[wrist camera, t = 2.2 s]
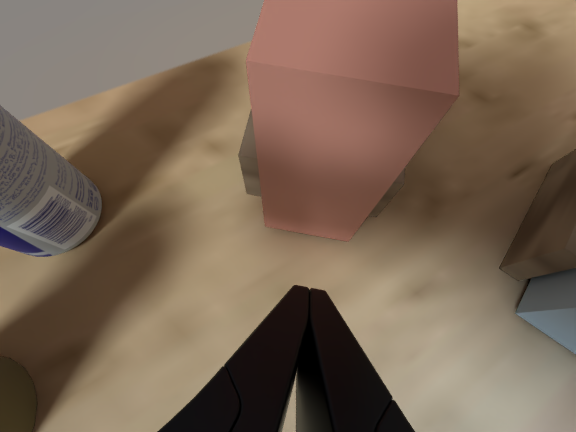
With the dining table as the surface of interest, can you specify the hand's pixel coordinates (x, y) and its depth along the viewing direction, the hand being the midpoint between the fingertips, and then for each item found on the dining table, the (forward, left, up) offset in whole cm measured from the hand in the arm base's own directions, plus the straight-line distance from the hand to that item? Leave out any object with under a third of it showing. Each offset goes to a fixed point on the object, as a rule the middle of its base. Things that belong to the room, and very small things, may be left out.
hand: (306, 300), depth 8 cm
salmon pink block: (+5, -4, -9) cm, 12 cm away
